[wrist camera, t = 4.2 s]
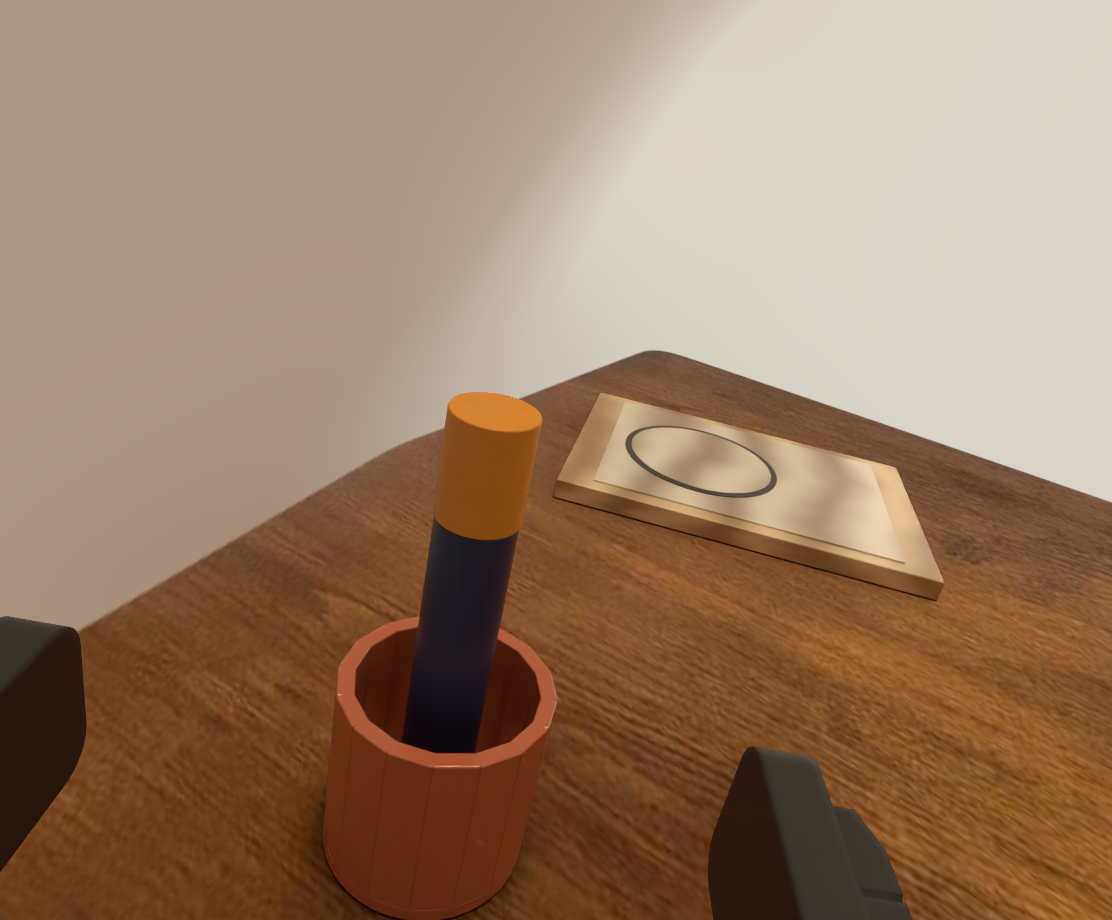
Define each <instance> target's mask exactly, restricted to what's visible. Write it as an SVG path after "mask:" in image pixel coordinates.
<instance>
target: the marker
mask: <svg viewBox="0 0 1112 920" xmlns="http://www.w3.org/2000/svg"><path fill="white" fill-rule="evenodd" d="M541 425H542V416H541V414H540V412H539V411H538V410H537V409H536V408H534V407H533V406H531V405H530V404H528V403H526V402H524V401H521V400H519V399H516V398H513V397H510V396H506V395H501V394H496V393H487V392H472V393H464V394H460V395H458V396H455V397H454V398H452V399H451V400H450V402H449V404H448V409H447V415H446V423H445V429H444V436H443V443H442V450H441V457H440V464H439V471H438V478H437V485H436V492H435V499H434V506H433V514H434V520H433V527H432V534H431V541H430V548H429V554H428V561H427V568H426V575H425V582H424V589H423V596H422V603H421V610H420V617H419V624H418V630H417V637H416V644H415V651H414V658H413V665H412V672H411V679H410V686H409V693H408V700H407V706H406V713H405V720H404V727H403V734H402V741H401V743H404V744H408V745H411V746H414V747H417V748H420V749H424V750H427V751H430V752H433V753H475V750H476V745H477V739H478V734H479V729H480V724H481V719H482V714H483V709H484V704H485V699H486V694H487V689H488V684H489V679H490V673H491V668H492V663H493V658H494V653H495V648H496V643H497V638H498V633H499V628H500V623H501V618H502V613H503V607H504V602H505V597H506V592H507V587H508V582H509V577H510V572H511V567H512V562H513V557H514V552H515V547H516V542H517V536H518V531H519V529H520V527H521V525H522V521H523V516H524V511H525V506H526V501H527V496H528V491H529V486H530V481H531V476H532V471H533V466H534V461H535V456H536V451H537V446H538V440H539V435H540V430H541Z"/></svg>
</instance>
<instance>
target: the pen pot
mask: <svg viewBox="0 0 1112 920" xmlns="http://www.w3.org/2000/svg"><path fill="white" fill-rule="evenodd" d="M419 617H420V616H417V617H413V618H408V619H403V620H399V621H394V622H390V623H388V624H385V625H383V626H381V627H379V628H378V629H376V630H374V631H372V632H371V633H369V634H367V635H366V636H364V637H362V638H360V639H359V640H358V641H356V643H355V644H354V646H353V647H352V648H351V650H350V651H349V652H348V654H347V655H346V657H345V658H344V659H343V661H342V662H341V663H340V665H339V667H338V674H337V685H336V695H335V706H334V716H333V726H332V737H331V747H330V758H329V768H328V778H327V789H326V799H325V811H324V822H323V846H324V852H325V856H326V859H327V862H328V864H329V866H330V868H331V870H332V872H333V874H334V876H335V877H336V879H337V880H338V881H339V883H340V884H341V885H342V886H343V888H344V889H345V890H346V891H347V892H348V893H349V894H350V895H352V896H353V897H354V898H355V899H357V900H358V901H359V902H361V903H362V904H364V905H366V906H367V907H369V908H371V909H373V910H375V911H377V912H380V913H382V914H385V915H388V916H391V917H395V918H399V919H405V920H442V919H446V918H451V917H455V916H458V915H461V914H463V913H466V912H469V911H471V910H473V909H474V908H476V907H478V906H480V905H482V904H483V903H484V902H486V901H487V900H489V899H490V898H491V897H493V896H494V895H495V894H496V893H497V892H498V891H499V890H500V889H501V888H502V887H503V885H504V884H505V883H506V882H507V880H508V879H509V877H510V876H511V874H512V872H513V870H514V868H515V866H516V863H517V861H518V858H519V854H520V850H521V846H522V843H523V839H524V836H525V833H526V829H527V825H528V821H529V816H530V812H531V808H532V804H533V800H534V796H535V792H536V788H537V784H538V780H539V776H540V772H541V768H542V764H543V760H544V756H545V751H546V747H547V743H548V739H549V735H550V731H551V727H552V723H553V719H554V715H555V711H556V707H557V701H558V699H557V695H556V691H555V687H554V683H553V679H552V675H551V672H550V670H549V669H548V668H547V666H546V665H545V664H544V663H543V662H542V660H541V659H540V658H539V657H538V656H537V654H536V653H535V652H534V651H533V650H532V648H531V647H529V646H528V645H527V644H525V643H524V642H522V641H521V640H519V639H517V638H516V637H514V636H512V635H511V634H509V633H507V632H506V631H504V630H502V629H501V628H499V633H498V638H497V643H496V648H495V653H494V658H493V663H492V668H491V673H490V679H489V684H488V689H487V694H486V699H485V704H484V709H483V714H482V719H481V724H480V729H479V734H478V739H477V745H476V750H475V753H433V752H430V751H427V750H424V749H420V748H417V747H414V746H411V745H408V744H404V743H401V741H402V734H403V727H404V720H405V713H406V706H407V700H408V693H409V686H410V679H411V672H412V665H413V658H414V651H415V644H416V637H417V630H418V624H419Z"/></svg>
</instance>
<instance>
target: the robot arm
mask: <svg viewBox="0 0 1112 920" xmlns="http://www.w3.org/2000/svg"><path fill="white" fill-rule="evenodd" d="M85 736H86V713H85V699H84V685H83V671H82V657H81V644H80V638H79V635H78V633H77V631H76V630H75V629H73V628H71V627H66V626H61V625H55V624H49V623H43V622H37V621H32V620H26V619H20V618H14V617H8V616H7V617H1V618H0V872H1V870H2V869H3V868H4V866H5V865H6V864H7V862H8V861H9V860H10V858H11V857H12V856H13V854H14V853H15V852H16V850H17V849H18V847H19V846H20V845H21V843H22V842H23V841H24V839H25V838H26V837H27V835H28V834H29V833H30V831H31V830H32V829H33V827H34V826H35V825H36V823H37V822H38V821H39V819H40V818H41V816H42V815H43V814H44V812H45V811H46V810H47V808H48V807H49V806H50V804H51V803H52V802H53V800H54V799H55V798H56V796H57V795H58V794H59V792H60V791H61V789H62V788H63V787H64V785H65V784H66V783H67V781H68V780H69V778H70V776H71V775H72V773H73V771H74V769H75V767H76V765H77V763H78V760H79V758H80V755H81V752H82V749H83V745H84V741H85ZM708 882H709V892H710V899H711V906H712V912H713V919H714V920H912V917H911V915H910V912H909V910H908V907H907V904H905V903H903V902H902V896H903V894H902V891H901V889H900V886H899V884H898V881H897V879H896V876H895V873H894V871H893V868H892V866H891V863H890V860H889V858H888V855H887V853H886V850H885V849H884V848H883V846H882V845H881V844H880V842H879V841H878V840H877V839H876V837H875V836H874V835H873V833H872V832H871V831H870V830H869V828H868V827H867V826H866V825H865V823H864V822H863V821H862V819H861V818H860V817H859V816H858V814H857V813H856V812H855V810H852V809H846V808H840V807H834V806H832V803H831V800H830V797H829V794H828V791H827V788H826V785H825V782H824V779H823V776H822V773H821V770H820V768H819V765H818V764H817V762H816V760H815V759H814V758H813V757H811V756H806V755H800V754H794V753H788V752H782V751H776V750H771V749H765V748H759V747H749V748H748V749H747V750H746V751H745V753H744V754H743V756H742V759H741V761H740V764H739V767H738V769H737V772H736V774H735V777H734V780H733V782H732V785H731V788H730V790H729V793H728V796H727V798H726V801H725V804H724V806H723V809H722V811H721V814H720V817H719V819H718V822H717V825H716V827H715V830H714V833H713V836H712V840H711V846H710V852H709V862H708Z"/></svg>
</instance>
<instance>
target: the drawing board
mask: <svg viewBox="0 0 1112 920" xmlns="http://www.w3.org/2000/svg"><path fill="white" fill-rule="evenodd" d="M553 496H554V497H556V498H560V499H564V500H567V501H571V502H575V503H579V504H582V505H586V506H590V507H593V508H597V509H601V510H604V511H608V512H612V513H615V514H619V515H623V516H627V517H630V518H634V519H638V520H641V521H645V522H649V523H652V524H656V525H660V526H664V527H667V528H671V529H675V530H678V531H682V532H686V533H689V534H693V535H697V536H700V537H704V538H708V539H712V540H715V541H719V542H723V543H726V544H730V545H734V546H737V547H741V548H745V549H749V550H752V551H756V552H760V553H763V554H767V555H771V556H774V557H778V558H782V559H785V560H789V561H793V562H797V563H800V564H804V565H808V566H811V567H815V568H819V569H822V570H826V571H830V572H834V573H837V574H841V575H845V576H848V577H852V578H856V579H859V580H863V581H867V582H870V583H874V584H878V585H882V586H885V587H889V588H893V589H896V590H900V591H904V592H907V593H911V594H915V595H919V596H922V597H926V598H930V599H933V600H937V598H938V596H939V594H940V592H941V590H942V588H943V586H944V581H943V578H942V576H941V573H940V571H939V569H938V566H937V564H936V562H935V559H934V557H933V554H932V552H931V550H930V547H929V545H928V543H927V540H926V538H925V536H924V533H923V531H922V528H921V526H920V524H919V521H918V519H917V517H916V514H915V512H914V509H913V507H912V505H911V502H910V500H909V498H908V495H907V493H906V491H905V488H904V486H903V483H902V481H901V479H900V476H899V474H898V472H897V469H896V468H895V467H891V466H887V465H883V464H879V463H875V462H872V461H868V460H864V459H860V458H856V457H852V456H848V455H844V454H840V453H836V452H832V451H828V450H824V449H820V448H817V447H813V446H809V445H805V444H801V443H797V442H793V441H789V440H785V439H781V438H777V437H773V436H769V435H765V434H761V433H758V432H754V431H750V430H746V429H742V428H738V427H734V426H730V425H726V424H722V423H718V422H714V421H710V420H706V419H703V418H699V417H695V416H691V415H687V414H683V413H679V412H675V411H671V410H667V409H663V408H659V407H655V406H651V405H647V404H644V403H640V402H636V401H632V400H628V399H624V398H620V397H616V396H612V395H608V394H604V393H600V395H599V397H598V399H597V401H596V403H595V405H594V407H593V409H592V411H591V413H590V415H589V417H588V418H587V420H586V422H585V424H584V426H583V428H582V430H581V432H580V434H579V436H578V438H577V440H576V442H575V444H574V446H573V448H572V450H571V452H570V454H569V456H568V458H567V460H566V462H565V464H564V466H563V468H562V470H561V472H560V474H559V476H558V478H557V481H556V485H555V490H554V495H553Z"/></svg>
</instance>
